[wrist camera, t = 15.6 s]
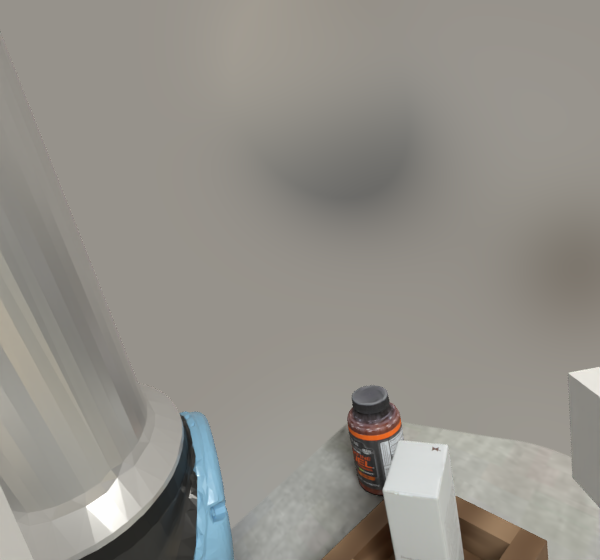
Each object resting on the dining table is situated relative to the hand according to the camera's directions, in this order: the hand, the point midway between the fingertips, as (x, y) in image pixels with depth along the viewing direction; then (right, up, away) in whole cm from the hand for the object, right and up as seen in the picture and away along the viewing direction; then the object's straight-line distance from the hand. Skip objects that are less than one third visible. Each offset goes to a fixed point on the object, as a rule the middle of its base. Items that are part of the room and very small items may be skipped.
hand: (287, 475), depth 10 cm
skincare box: (+12, -21, +27) cm, 36 cm away
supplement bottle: (+10, -19, +41) cm, 46 cm away
